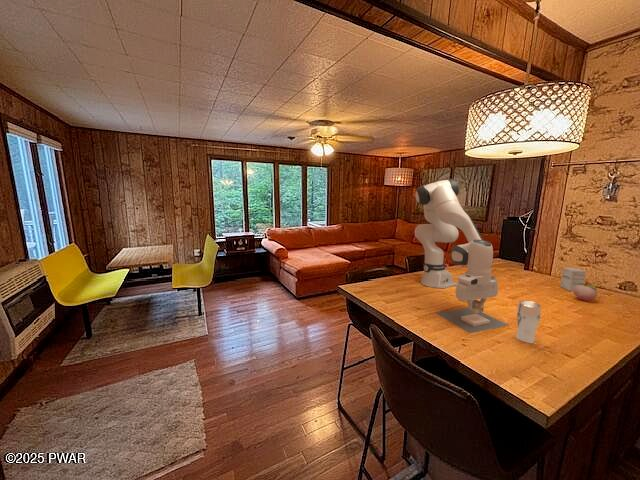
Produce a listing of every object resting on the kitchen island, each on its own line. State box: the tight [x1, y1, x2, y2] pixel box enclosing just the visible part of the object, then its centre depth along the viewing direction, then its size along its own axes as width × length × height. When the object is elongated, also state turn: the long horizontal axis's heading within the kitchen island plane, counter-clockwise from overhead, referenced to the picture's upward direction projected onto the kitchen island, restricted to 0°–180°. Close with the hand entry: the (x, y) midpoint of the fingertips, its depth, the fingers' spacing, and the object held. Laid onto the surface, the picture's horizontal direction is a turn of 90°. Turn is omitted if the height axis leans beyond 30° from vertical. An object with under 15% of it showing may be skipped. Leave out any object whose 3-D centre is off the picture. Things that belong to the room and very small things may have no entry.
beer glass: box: [515, 300, 542, 345], centre depth 100 cm, size 7×7×15 cm
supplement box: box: [560, 267, 587, 292], centre depth 157 cm, size 7×7×13 cm
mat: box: [435, 307, 510, 334], centre depth 119 cm, size 22×20×1 cm
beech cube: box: [467, 299, 485, 313], centre depth 114 cm, size 4×4×4 cm
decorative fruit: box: [572, 282, 598, 302], centre depth 139 cm, size 9×8×10 cm
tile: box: [461, 314, 490, 327], centre depth 116 cm, size 2×7×9 cm
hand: (475, 307), depth 115 cm, fingers closed on beech cube, 4 cm apart
